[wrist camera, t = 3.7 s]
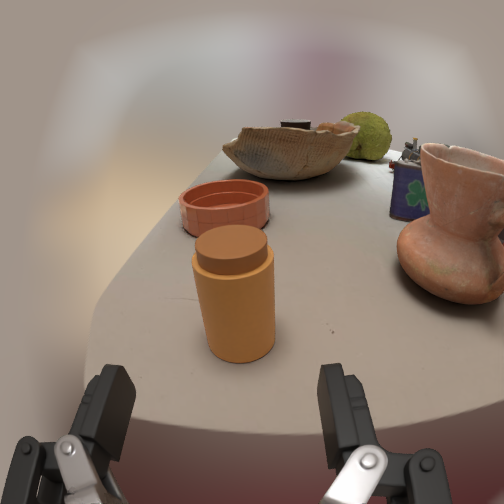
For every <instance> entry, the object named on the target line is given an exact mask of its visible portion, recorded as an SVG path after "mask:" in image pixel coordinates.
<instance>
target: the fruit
mask: <svg viewBox="0 0 504 504" xmlns="http://www.w3.org/2000/svg"><path fill="white" fill-rule="evenodd" d="M341 121H346V122H349V123H352V124H354V126H358V125H359V126H360V127H361V128H360V131H359V132H358V134H357V135H356V136H355V138H354V139H353V143H352V146H351V148H350V150H349V152H348V153H347V155H346V156H348V157H351V158H354V159H367V160H373V161H374V160H379V159H381V158H382V157H383V156H384V155H385V154H386V153H387V152H388V150H389V147H390V143H391V141H392V135H391V134H390V130H389V127H388V124H387V123H386V122H385V121H384V119H383V118H381V117H379V116H377V115H376V114H373V113H370V112H357V113H352V114H349V115H348V116H346V117H344V118H343V119H342V120H341Z"/></svg>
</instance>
